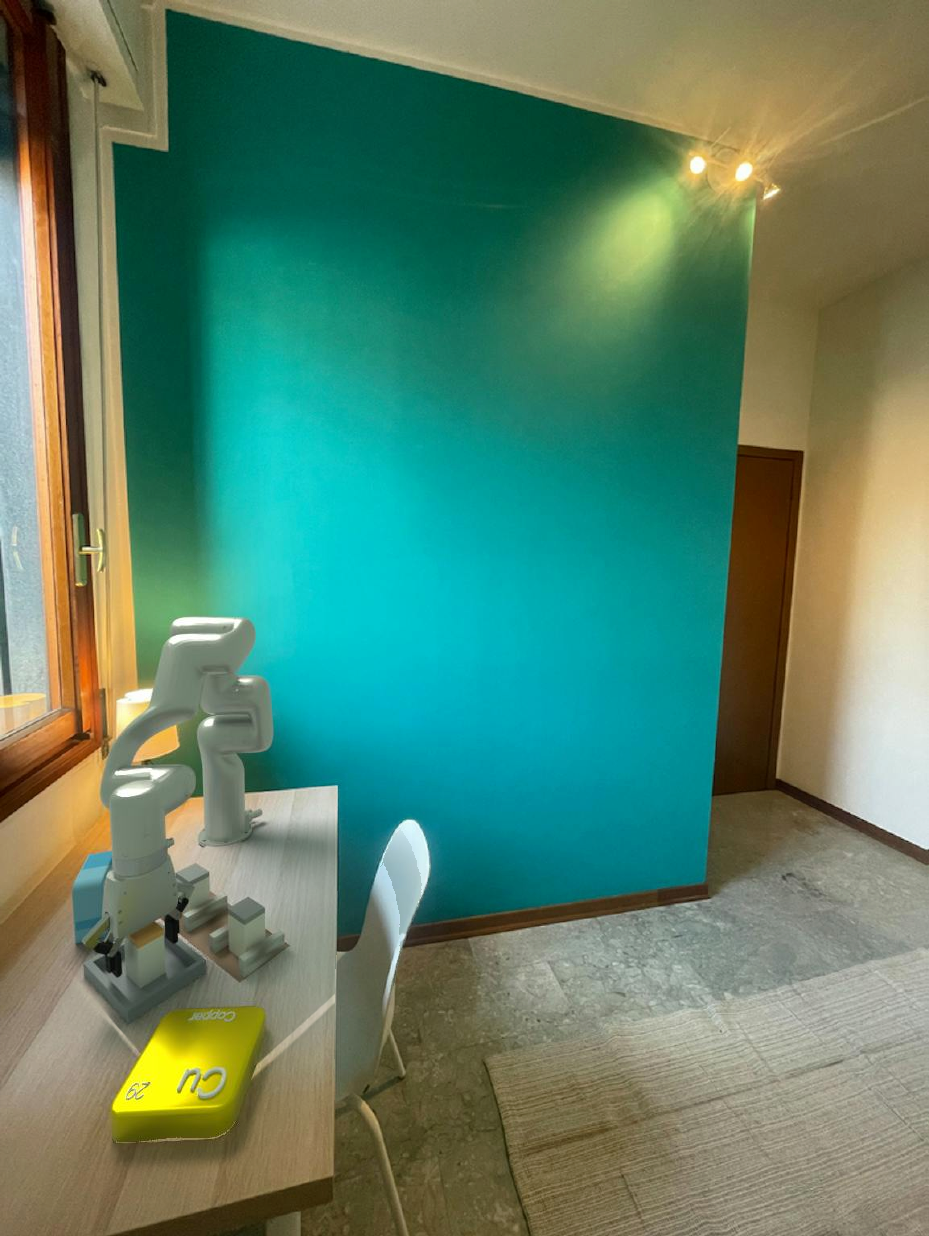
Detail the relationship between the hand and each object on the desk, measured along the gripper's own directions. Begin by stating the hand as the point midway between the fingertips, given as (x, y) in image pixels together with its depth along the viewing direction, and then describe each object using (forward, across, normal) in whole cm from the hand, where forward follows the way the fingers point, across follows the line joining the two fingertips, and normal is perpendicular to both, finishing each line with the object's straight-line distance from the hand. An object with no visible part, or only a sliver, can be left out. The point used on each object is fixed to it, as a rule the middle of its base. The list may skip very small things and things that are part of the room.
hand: (144, 955), depth 85 cm
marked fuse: (+3, 0, 0) cm, 3 cm away
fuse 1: (+3, -13, -9) cm, 16 cm away
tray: (+4, 0, 0) cm, 4 cm away
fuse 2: (+3, -13, +9) cm, 16 cm away
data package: (+4, -1, -21) cm, 21 cm away
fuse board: (+4, -13, 0) cm, 14 cm away
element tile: (+5, +4, +24) cm, 24 cm away
